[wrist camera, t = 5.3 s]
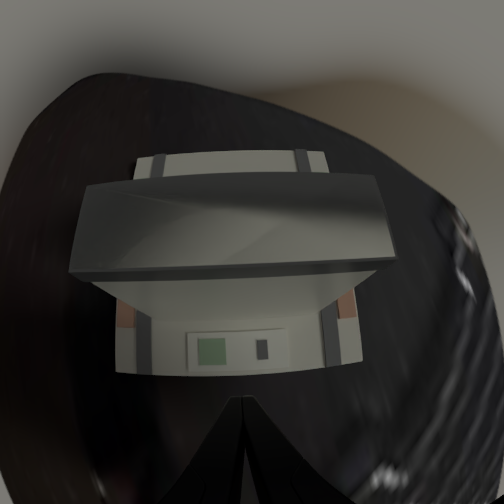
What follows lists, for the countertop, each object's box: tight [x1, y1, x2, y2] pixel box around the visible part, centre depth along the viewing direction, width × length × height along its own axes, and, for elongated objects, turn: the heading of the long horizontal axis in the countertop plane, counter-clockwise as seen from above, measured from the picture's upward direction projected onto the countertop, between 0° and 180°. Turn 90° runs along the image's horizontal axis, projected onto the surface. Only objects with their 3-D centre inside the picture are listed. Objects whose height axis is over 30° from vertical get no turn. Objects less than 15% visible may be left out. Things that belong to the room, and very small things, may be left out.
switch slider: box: [69, 172, 398, 321], centre depth 13 cm, size 3×10×10 cm, turn 93°
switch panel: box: [115, 149, 363, 376], centre depth 19 cm, size 17×16×2 cm
